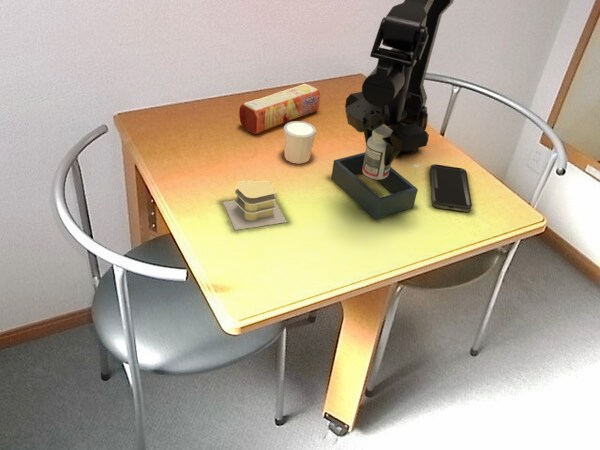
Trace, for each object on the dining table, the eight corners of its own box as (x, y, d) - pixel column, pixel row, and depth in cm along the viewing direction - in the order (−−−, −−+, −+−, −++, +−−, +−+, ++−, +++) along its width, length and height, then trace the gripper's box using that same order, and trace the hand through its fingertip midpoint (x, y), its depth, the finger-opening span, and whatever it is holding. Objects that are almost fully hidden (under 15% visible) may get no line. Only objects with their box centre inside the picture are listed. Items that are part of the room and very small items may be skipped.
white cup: (309, 167, 132) (312, 139, 128) (278, 161, 133) (280, 133, 128) (315, 151, 137) (318, 123, 133) (285, 146, 138) (287, 118, 134)
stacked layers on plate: (272, 195, 122) (273, 172, 119) (286, 222, 116) (288, 198, 113) (222, 202, 119) (223, 178, 116) (235, 230, 113) (235, 205, 109)
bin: (367, 168, 134) (371, 150, 131) (413, 207, 124) (418, 189, 121) (331, 178, 129) (333, 160, 127) (375, 219, 119) (379, 200, 116)
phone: (466, 168, 135) (472, 208, 123) (464, 173, 136) (470, 212, 124) (430, 163, 135) (432, 202, 123) (428, 167, 136) (431, 206, 124)
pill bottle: (381, 164, 126) (390, 122, 120) (393, 178, 122) (402, 135, 116) (357, 167, 125) (364, 124, 119) (368, 182, 121) (376, 138, 115)
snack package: (302, 102, 156) (304, 77, 151) (321, 113, 152) (324, 87, 148) (237, 126, 143) (237, 100, 139) (255, 138, 140) (257, 111, 135)
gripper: (327, 70, 114) (318, 143, 124) (388, 115, 102) (373, 192, 112) (375, 62, 119) (362, 132, 129) (439, 104, 107) (420, 178, 117)
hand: (377, 157), depth 121 cm, fingers closed on pill bottle, 5 cm apart
